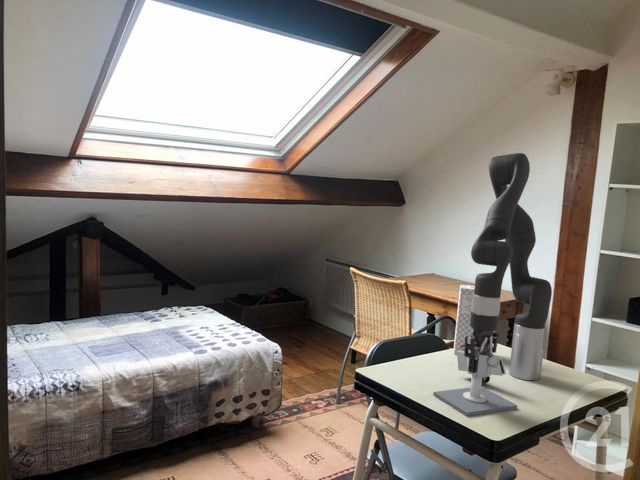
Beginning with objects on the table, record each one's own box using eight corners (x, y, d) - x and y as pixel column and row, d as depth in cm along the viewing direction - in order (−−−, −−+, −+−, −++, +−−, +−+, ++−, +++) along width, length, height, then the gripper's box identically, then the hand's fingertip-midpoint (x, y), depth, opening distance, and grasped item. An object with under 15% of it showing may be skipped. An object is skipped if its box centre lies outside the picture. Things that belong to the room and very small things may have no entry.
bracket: (458, 382, 159) (501, 388, 147) (455, 351, 159) (498, 355, 148) (465, 380, 161) (508, 386, 150) (463, 349, 162) (505, 353, 150)
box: (454, 354, 184) (461, 288, 181) (453, 347, 192) (460, 284, 190) (478, 357, 182) (485, 290, 180) (476, 351, 190) (483, 287, 188)
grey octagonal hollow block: (474, 367, 143) (476, 346, 143) (500, 376, 137) (503, 355, 137) (462, 371, 139) (464, 349, 139) (488, 380, 133) (491, 358, 133)
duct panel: (481, 389, 150) (484, 360, 149) (516, 408, 137) (520, 377, 137) (433, 395, 142) (436, 364, 142) (466, 416, 130) (469, 383, 129)
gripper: (486, 306, 145) (480, 362, 146) (458, 310, 135) (452, 370, 137) (510, 312, 139) (504, 370, 141) (483, 317, 130) (476, 379, 131)
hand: (478, 369), depth 139 cm, fingers closed on grey octagonal hollow block, 6 cm apart
